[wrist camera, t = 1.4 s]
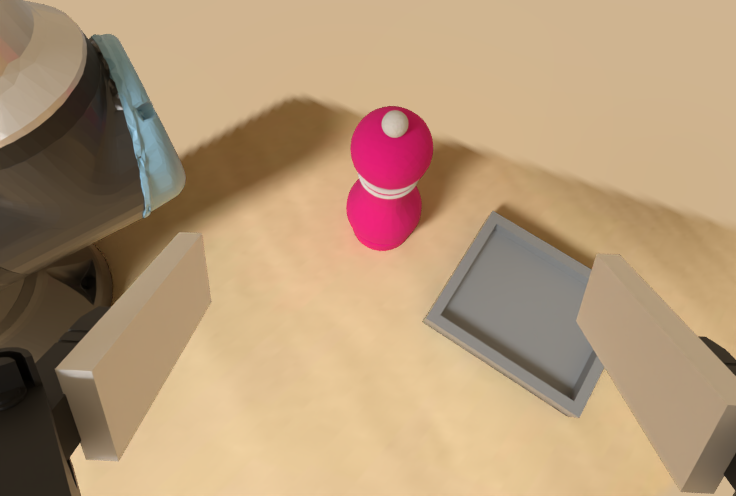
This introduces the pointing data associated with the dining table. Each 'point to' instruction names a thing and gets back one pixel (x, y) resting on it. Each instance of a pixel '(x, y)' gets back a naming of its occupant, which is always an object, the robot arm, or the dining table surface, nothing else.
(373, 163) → the pepper mill
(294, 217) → the dining table surface
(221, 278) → the dining table surface
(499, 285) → the tray
